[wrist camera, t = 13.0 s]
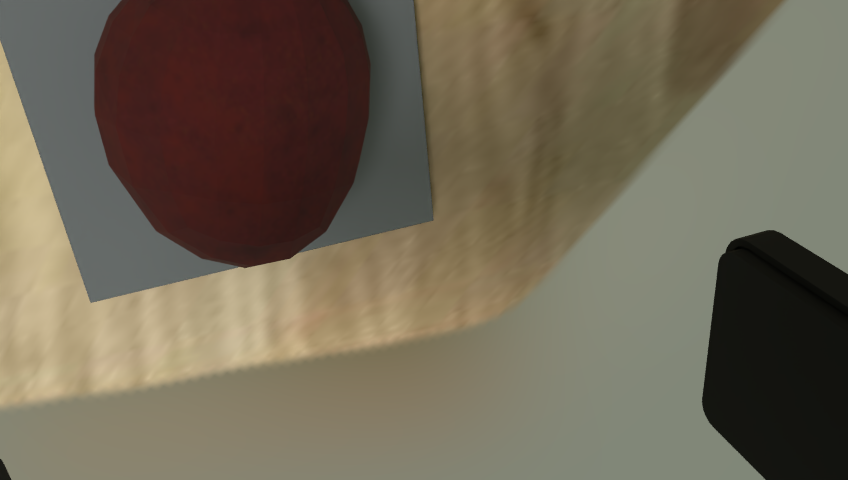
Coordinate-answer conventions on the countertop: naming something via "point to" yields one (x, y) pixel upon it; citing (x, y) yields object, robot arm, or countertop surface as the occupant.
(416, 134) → the mat
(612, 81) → the countertop surface
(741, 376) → the robot arm
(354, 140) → the potato
